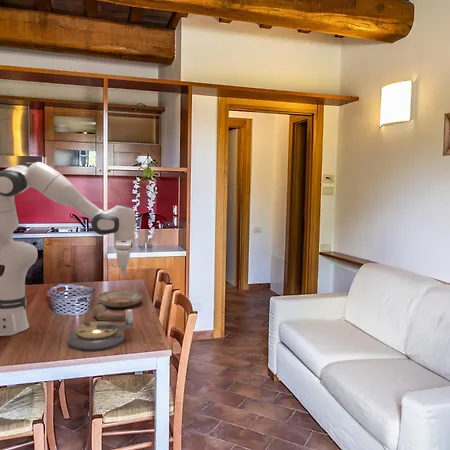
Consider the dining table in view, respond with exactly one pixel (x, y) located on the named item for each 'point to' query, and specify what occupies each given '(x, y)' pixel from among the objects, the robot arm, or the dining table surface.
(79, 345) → the disc
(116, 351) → the dining table surface
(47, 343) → the dining table surface
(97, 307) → the pipe
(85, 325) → the round gold-topped disc
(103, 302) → the ceramic bowl
